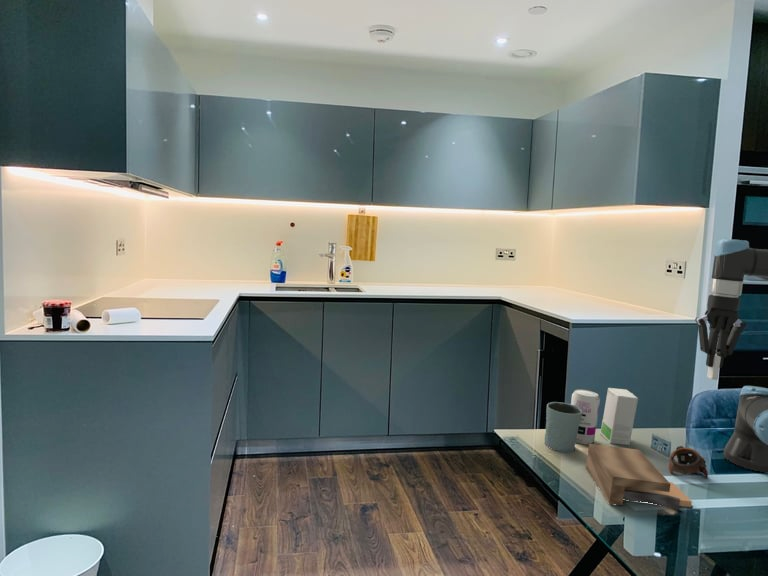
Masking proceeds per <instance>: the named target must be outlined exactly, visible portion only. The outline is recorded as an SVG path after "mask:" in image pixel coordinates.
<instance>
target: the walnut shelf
mask: <svg viewBox="0 0 768 576" xmlns="http://www.w3.org/2000/svg"><path fill="white" fill-rule="evenodd" d="M587 451H588V452H587V457H586V458H587V459H586V465H585V470H586V471H587V472H588V474H589V476H590V478H591V479H592V478H593V479H592V480H593V482H594V481H595V482H596V484H597V485H598V487H599V488H600V490H601V491H602V493H603V495H604V496H605V498H606V499H605V498H604V499H605V501H606V500H607V501H608V503H609V504H616V505H622V506H623V503H624V501H623V499H625V500H629V501H638V502H640V501H641V502H648V503H653V504H657V505H661V506H660V507H666V508H668V509H673V510H677V511H679V509H680V506H679V505H680V498H676V497H672V496H669V495H664V494H656V493H649V492H641V491H633V490H625V486H626V487H634V488H642V489H649V490H657V491H665V492H669V491H670V485H671V484H670V483H669V482H670V481H669V480H668V479H667V478H666V477H665V476H664V475H663V474H662V473H661V472H660V471H659V470H658V468H657V467H656V466H655V464H653V463H652V462H651V461H650V460H649V459H648V458H647V457H646V456H645V454H643V453H642V451H641V450H640V449H636V448H629V447H628V448H627V447H620V446H619V447H618V446H611V445H603V444H595V443H591V444H588V450H587ZM595 482H594V483H595ZM596 484H595V485H596ZM597 485H596V486H597ZM598 487H597V488H598ZM599 488H598V489H599ZM600 490H599V491H600ZM601 491H600V492H601ZM602 493H601V494H602ZM603 495H602V496H603ZM604 496H603V497H604ZM607 501H606V502H607ZM608 503H607V504H608ZM609 504H608V505H609ZM657 505H656V506H657Z"/></svg>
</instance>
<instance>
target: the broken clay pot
mask: <svg viewBox="0 0 768 576" xmlns="http://www.w3.org/2000/svg"><path fill="white" fill-rule="evenodd" d="M675 457H676V459H677V461H676V460H675ZM669 459H670V460H669V465H668V471H669V472H670V473H671V474H673V473H678V474H683V475H686V474H688V475H690V474H691V475H692V474H695V473H696V474H697V475H701V474H702V475H704V477H705V479H708V477H709V471H708V469H707V465H706V460H705V458H704V457H703V456H702V455H700V453H699V452H698V451H697V450H695V449H693V448H690V447H684V446H683V445H679V446H677V447H676V449H675V450H674V451H672V453H671V454H670V458H669Z"/></svg>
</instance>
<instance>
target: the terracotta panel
mask: <svg viewBox="0 0 768 576" xmlns="http://www.w3.org/2000/svg"><path fill="white" fill-rule="evenodd" d="M668 482H669V483H670V484H671V485H670V491H669V492H665V491H657V490H649V489H642V488H634V487H626V486H625V490H633V491H641V492H649V493H656V494H664V495H669V496H672V497H676V498H680V505H679V507H687V508H691V507H692V503H693V501H692V500H691V499H690V498H689V497H688V495H686V494H685V493H684V492H683V491H682V490H681V489H680V488H679V487H678V486H677V485H676V484H675V483H674V482H673V481H668Z"/></svg>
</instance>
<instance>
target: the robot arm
mask: <svg viewBox="0 0 768 576" xmlns="http://www.w3.org/2000/svg"><path fill="white" fill-rule="evenodd" d="M714 251H715V252H714V254H713V258H714V259H713V264H712V273H711V279H710V284H709V293H710V294H709V295H708V298H707V304H706V305H707V307H706V308H707V310H706V311H705V312H704V315H702V316H700V317H696V318H695V320H694V321H695V323H696V324H697V328H698V330H697V331H698V338H699V346H700V347H699V349H700V351H701V352H703V353H705V354H706V360H705V366H706V367H707V374H706V378H709V379H710V380H715V381H717V380H718V378H719V373H720V372H719V371H720V369H721V368H723V364H724V360H725V359H724V358H726V357H727V356H732V355H733V353H734V351H735V347H736V345H737V342H738V340H739V338H740V336H741V333H742V331H743V330H744V329H745V328H746V327H747V323H746V322H743V321H742V320H741V319H739V314H738V312H739V310H740V303H741V298H740V296H742V293H743V284H744V283H743V282H744V278H745V276H747V277H757V278H759V279H760V280H761V279H762V280H763V281H766V282H768V249H766V248H765V249H761V248H760V249H759V248H754V247H753V248H752V247H750V242H749V241H748V240H742V239H741V240H740V239H728V238H722V239H720V240H718V241H717V242H716V246H715V250H714ZM707 324H709V327H707ZM731 327H732V328H731ZM708 329H709V333H708ZM738 396H739V399H738V405H737V412H736V419H735V422H734V423H735V425H734V429H733V432H732V433H733V434H732V435H731V437H730V438H729V440H728V441H727V443H726V444H725V447H724V449H723V453H722V456H723V455H724V456H723V457H725V458H726V459H727V460H726V461H728V460H729V461H728V462H730V463H731V462H732V463H731V464H733V463H734V464H733V465H735V464H736V466H738V465H739V466H738V467H740V466H741V468H743V467H744V468H743V469H746V470H749V469H750V470H749V471H752V470H754V471H753V472H756V471H760V472H759V473H761V472H768V388H766V387H762V386H754V385H743V387H742V388H741V390H740V393H739V394H738ZM725 458H724V459H725Z"/></svg>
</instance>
